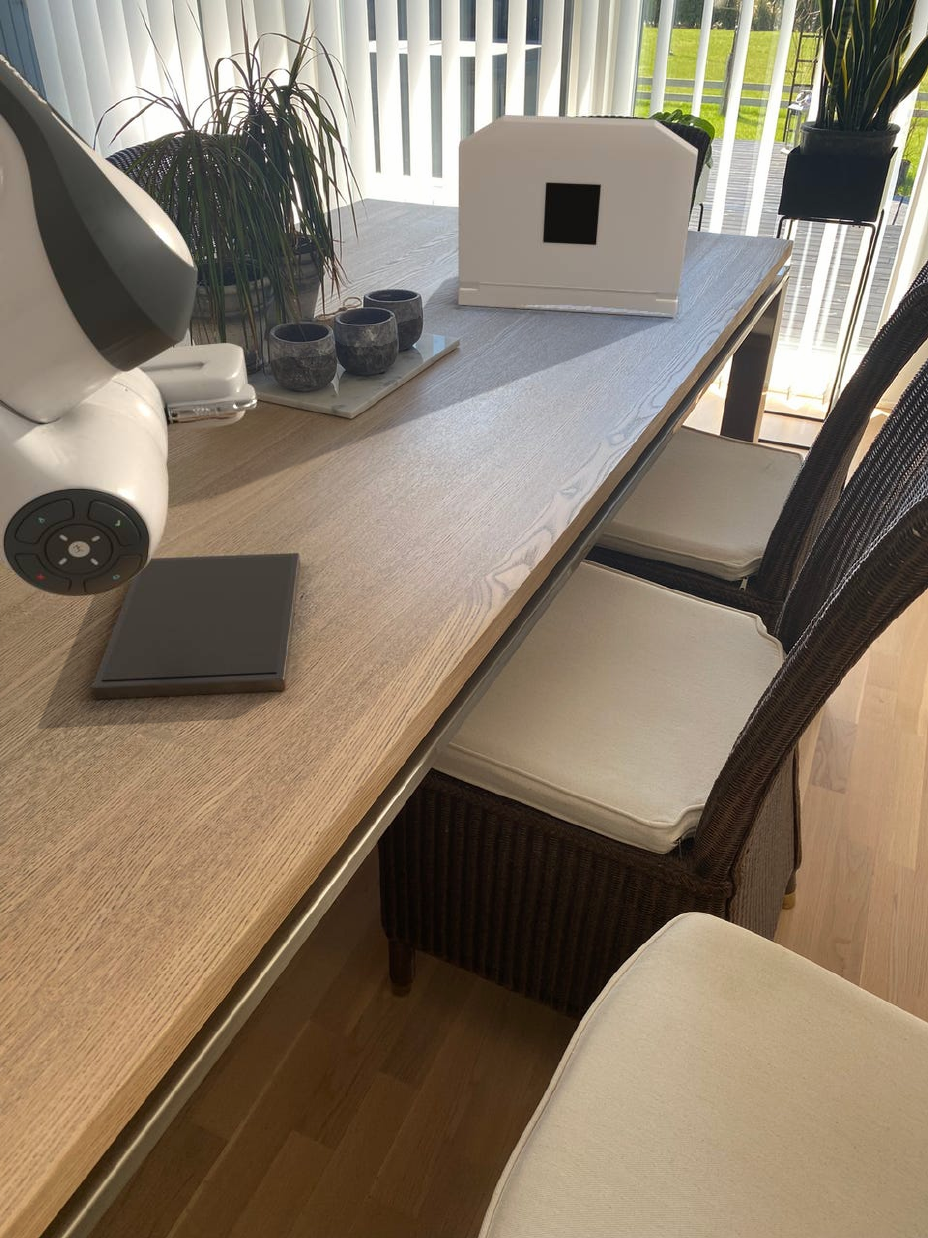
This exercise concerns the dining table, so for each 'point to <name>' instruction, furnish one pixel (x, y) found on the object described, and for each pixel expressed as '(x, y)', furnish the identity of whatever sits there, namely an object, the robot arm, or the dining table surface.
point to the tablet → (203, 628)
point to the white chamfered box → (574, 214)
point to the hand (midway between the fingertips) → (105, 354)
